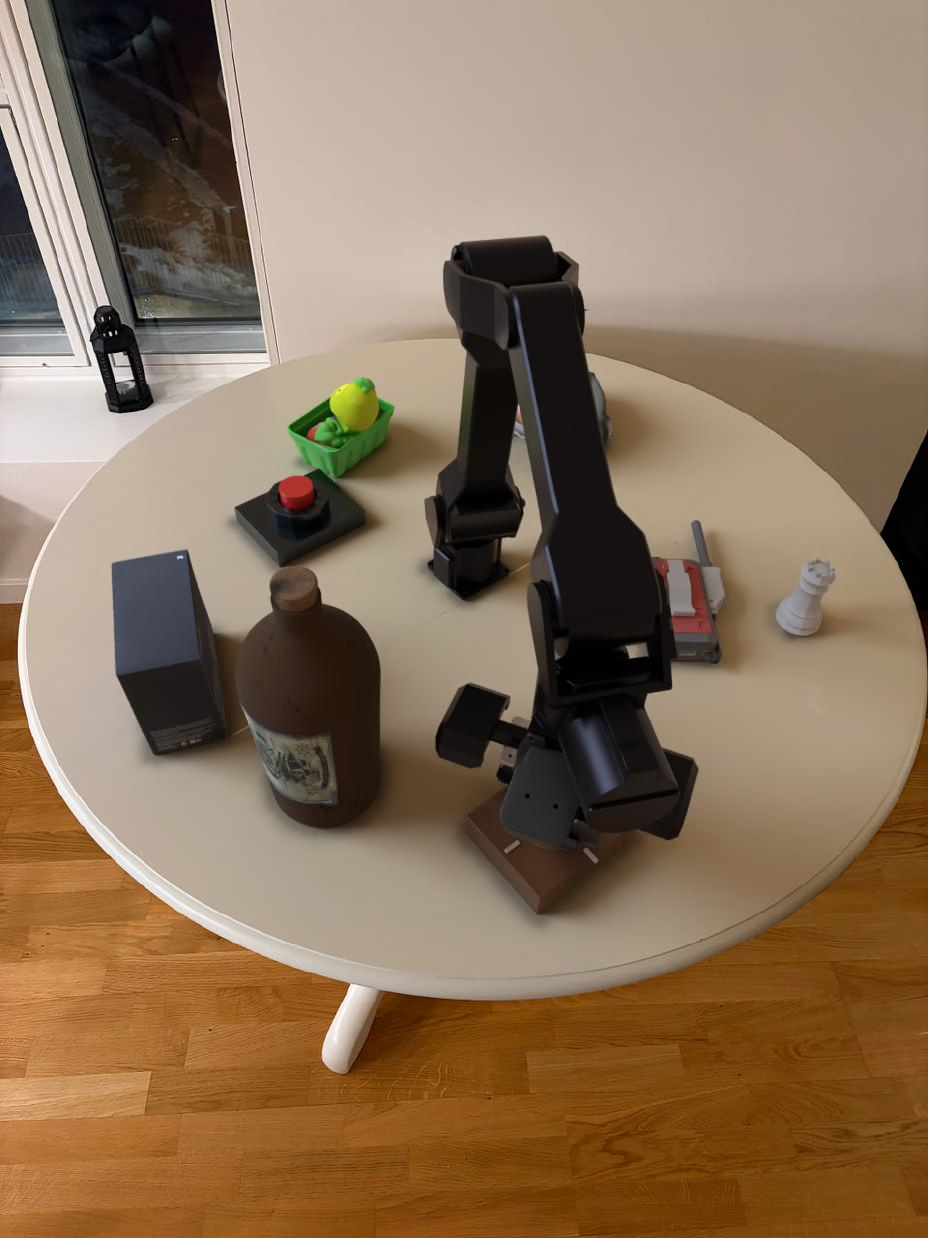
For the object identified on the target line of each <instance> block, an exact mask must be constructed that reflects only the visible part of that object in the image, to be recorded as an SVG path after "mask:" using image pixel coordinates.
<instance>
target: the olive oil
mask: <svg viewBox="0 0 928 1238" xmlns="http://www.w3.org/2000/svg"><path fill="white" fill-rule="evenodd" d="M318 582H319V581H318V577H317V575H316V573H315V572H314V571H313V570H311V569H310V568H309V567H305V566H302V565H289V566H285V567H281V569H279V570H277V571H276V572H275V573H274V574H273V575H272V576H271V578H270V580H269V585H268V586H269V591H270V597H269V601H270V604H271V610H272V611H271V612H270V613H267V614H266V615H265V616H263V617H262V618H261V619H259V621H258V622H257V623H256V624H255V625H254V626H253V627H251V629H250V630H249V632H248V633H247V635H246V636H245V638H244V640H243V642H242V643H241V645H240V649H239V653H238V655H237V661H236V666H235V667H236V668H235V687H236V691H237V695H238V698H239V700H238V703H239V705H240V708H241V709H242V710H243V713H244V715H245V718H246V720H247V723H248V726H249V728H250V731H251V734H252V736H253V737H252V738H253V739H254V742H255V745H256V747H257V750H258V754H259V756H260V759H261V761H262V764H263V767H264V770H265V773H266V776H267V780H268V782H269V785H270V788H271V791H272V794H273V797H274V800H275V802H276V804H277V805H278V807H279V808H280V809H281V811H282V812H284V814H285V815H286V816H288V817H289V818H291V819H292V820H293V821H295V822H297V823H299V824H302V825H304V826H308V827H311V828H312V827H313V828H331V827H337V826H340V825H343V824H347V823H349V822H351V821H353V820H355V819H356V818H358V817H359V816H360V815H362V814H363V813H364V812H365V811H366V810H367V809H368V808H369V807H370V806H371V805H372V804H373V802H374V801H375V799H376V798H377V795H378V793H379V789H380V787H381V783H382V782H381V780H382V760H381V758H382V757H381V687H382V686H381V685H382V684H381V683H382V681H381V680H382V673H381V672H382V669H381V661H380V657H379V654H378V650H377V647H376V645H375V644H374V641H373V640H372V638H371V636H370V634H369V633H368V631H367V630H366V628H365V627H364V626H363V625H362V623H361V622H360V621H359V620H357V619H356V618H355V616H353V615H351V614H350V613H349V612H347V611H345V610H343V609H341V608H338V607H336V606H333V605H330V604H326V603H323V597H322V590H321V588H320V587H319V583H318Z"/></svg>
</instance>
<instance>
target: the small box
mask: <svg viewBox="0 0 928 1238" xmlns="http://www.w3.org/2000/svg"><path fill="white" fill-rule="evenodd" d="M110 565H111V590H112V591H111V593H112V614H113V615H112V616H113V643H114V667H115V676H116V679H117V680H118V683H119V684H120V687H121V689H122V691H123V693H124V695H125V698H126V700H127V702H128V704H129V706H130V708H131V710H132V712H133V715H134V717H135V718H136V721H137V723H138V725H139V727H140V729H141V732H142V733H143V735H144V738H145V740H146V742H147V745H148V746H149V749H150V751H151V753H152V755H154V756H155V755H159V754H165V753H169V752H170V753H171V752H174V751H178V750H183V749H187V748H190V747H197V746H200V745H204V744H208V743H213V742H217V741H221V740H225V739H228V738H229V732H228V726H227V718H226V711H225V703H224V698H223V691H222V681H221V675H220V668H219V662H218V655H217V646H216V640H215V633H214V630H213V625H212V623H211V620H210V616H209V614H208V611H207V608H206V605H205V603H204V599H203V596H202V594H201V593H202V592H201V590H200V587H199V584H198V581H197V577H196V574H195V571H194V567H193V563H192V560H191V556H190V553H189V550H188V548H183V549H179V550H178V549H177V550H171V551H166V552H162V553H155V554H151V555H145V556H137V557H133V558H128V559H122V560H117V561H114V562H111V563H110Z"/></svg>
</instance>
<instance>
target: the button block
mask: <svg viewBox="0 0 928 1238" xmlns="http://www.w3.org/2000/svg"><path fill="white" fill-rule="evenodd" d="M302 476H304V477H307V478H309V479H310V480H311V481H312V483H313V488H314V496H315V498H314V501H313V503H312V504H311V505H310V506H307V507H305V508H303V509H289V508H287V507H285V506H284V505H283V504H282V502H281V498H280V492H279V485H280V483H281V482H282V481H283V480H284V479H281V480H279V481H277V482H275V483H274V484H273V485H272V486H271V487H270V489H269V490H268V491H267V492H264V493H262V494H260V495H258V496H256V497H253V498H251V499H249V500H247V501H244V502H242V503H240V504H238V505H236V506H234V508H233V509H234V513H235V517H236V522H237V523H238V524H239V526H240V527H241V528H242V529H243V530H244V531H245V532H246V533H247V534H248V535H249V537H251V538H252V540H253V541H255V543H256V544H257V545H258V546H259V547H260V548H261V549H262V550H263V551H264V552H265V554H267V556H268V557H269V558H270V559H271V560H272V561H273V563H275V565H276V566H278V567H279V568H283V567H284V566H286V565H288V564H290V563H292V562H294V561H296V560H298V559H300V558H301V557H304V556H306V555H307V554H310V553H312V552H314V551H315V550H317V549H320V548H322V547H324V546H326V545H328V544H330V543H332V542H334V541H336V540H338V539H340V538H343V537H344V536H345V535H347V534H350V533H351V532H354V531H355V530H358V529H360V528H362V527H363V526H366V512H365V509H364V508H363V507H362V506H361V505H360V504H359V503H358V502H356V500H355V499H354V498H352V497H351V496H350V495H349V494H348V493H347V492H346V491H345V490H344V489H342V487H340V486H339V484H337V483H336V481H334V480H333V479H332V478H331V477H329V476H328V474H327V473H325V472H323V471H322V470H321V469H320V468H319V469H317V468H316V469H314V470H312V471H309V472H308V473H306V474H304V475H302Z"/></svg>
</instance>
